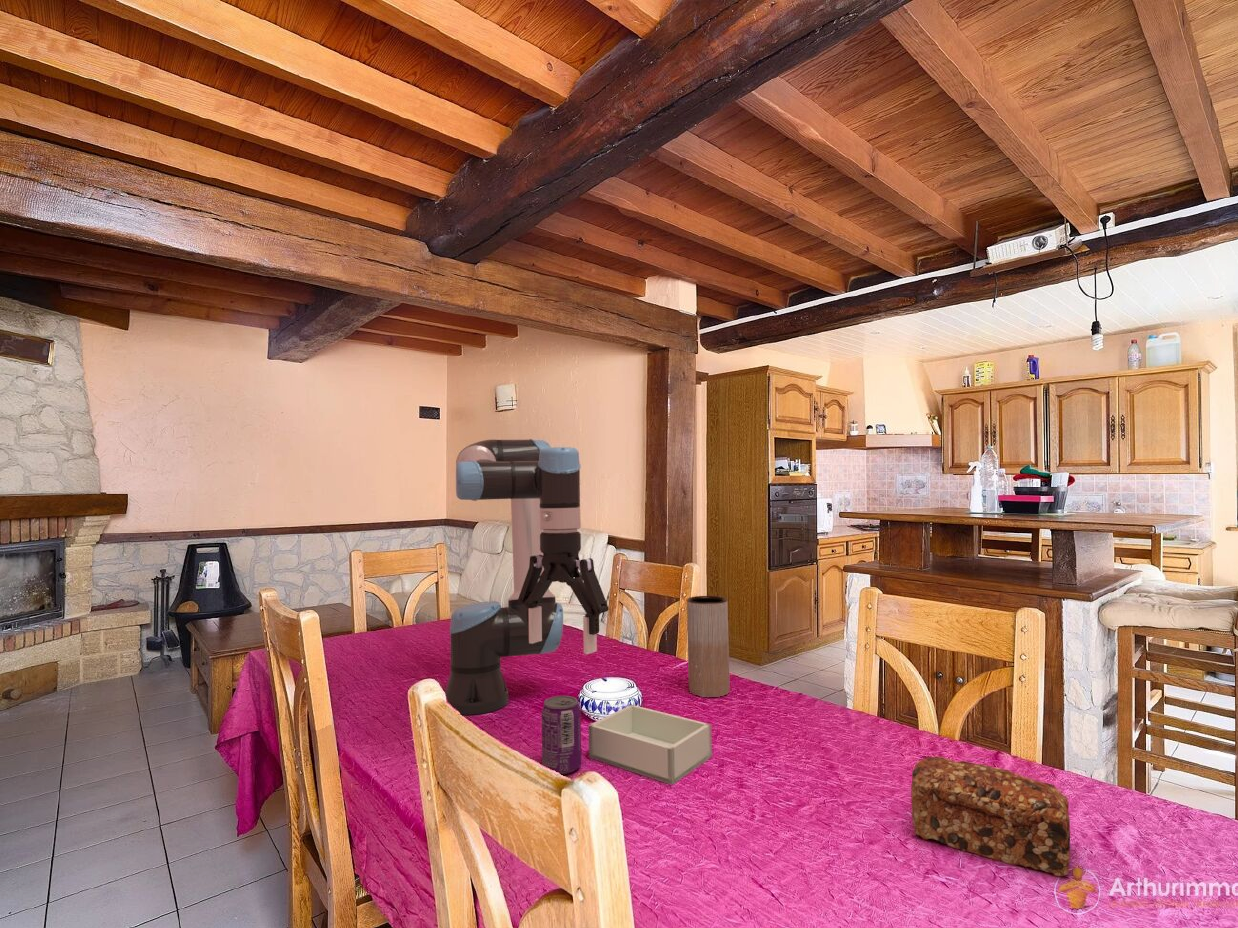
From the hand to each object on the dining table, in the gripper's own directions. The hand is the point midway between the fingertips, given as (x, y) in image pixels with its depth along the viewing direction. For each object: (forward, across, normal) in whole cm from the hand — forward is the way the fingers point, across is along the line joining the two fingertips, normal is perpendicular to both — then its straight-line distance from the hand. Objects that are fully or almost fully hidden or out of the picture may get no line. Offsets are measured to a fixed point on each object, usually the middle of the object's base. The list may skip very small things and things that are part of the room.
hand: (561, 647), depth 114 cm
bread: (+22, +65, +18) cm, 71 cm away
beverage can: (+22, 0, 0) cm, 22 cm away
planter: (+22, +1, +52) cm, 56 cm away
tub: (+22, +10, +13) cm, 27 cm away
